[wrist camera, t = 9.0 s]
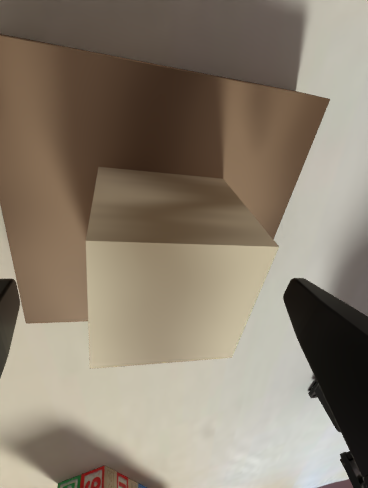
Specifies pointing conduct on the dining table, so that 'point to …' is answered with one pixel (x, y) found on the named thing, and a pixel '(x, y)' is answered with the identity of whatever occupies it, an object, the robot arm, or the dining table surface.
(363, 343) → the robot arm
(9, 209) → the walnut base slab
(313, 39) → the dining table surface
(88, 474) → the stack of blocks
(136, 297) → the maple cube
